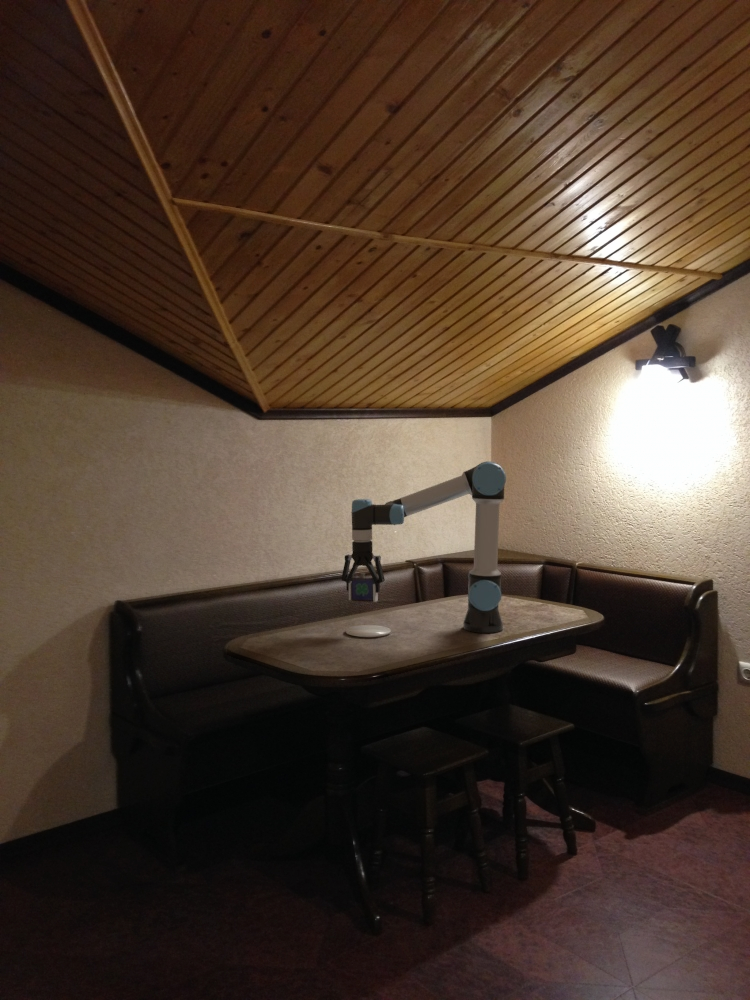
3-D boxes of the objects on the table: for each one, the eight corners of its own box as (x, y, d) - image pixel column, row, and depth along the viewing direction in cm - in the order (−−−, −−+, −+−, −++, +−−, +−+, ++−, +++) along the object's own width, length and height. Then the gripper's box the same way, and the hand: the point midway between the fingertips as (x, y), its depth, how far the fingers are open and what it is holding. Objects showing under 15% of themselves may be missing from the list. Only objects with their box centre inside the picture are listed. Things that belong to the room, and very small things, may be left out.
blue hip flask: (376, 600, 309) (375, 572, 308) (374, 602, 306) (373, 573, 306) (352, 599, 312) (352, 571, 311) (350, 601, 309) (349, 573, 308)
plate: (397, 630, 315) (397, 627, 315) (380, 640, 299) (380, 637, 299) (356, 626, 322) (356, 623, 321) (338, 636, 306) (338, 632, 306)
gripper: (393, 540, 307) (394, 600, 308) (339, 538, 315) (340, 597, 316) (386, 542, 300) (387, 603, 301) (331, 541, 308) (332, 600, 309)
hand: (363, 600), depth 309 cm, fingers closed on blue hip flask, 9 cm apart
